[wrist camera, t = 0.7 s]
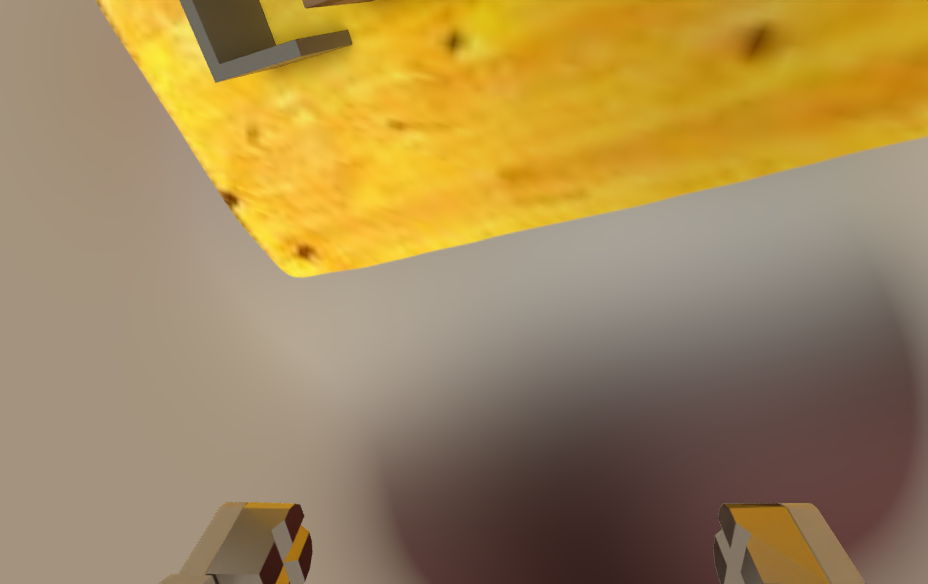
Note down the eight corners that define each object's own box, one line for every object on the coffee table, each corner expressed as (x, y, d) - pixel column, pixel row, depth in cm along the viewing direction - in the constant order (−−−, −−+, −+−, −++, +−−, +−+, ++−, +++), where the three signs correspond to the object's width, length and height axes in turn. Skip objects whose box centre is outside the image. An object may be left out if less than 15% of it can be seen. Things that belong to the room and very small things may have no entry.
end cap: (230, -43, 47) (160, -45, 41) (313, -79, 43) (249, -87, 37) (273, 68, 51) (215, 82, 45) (352, 44, 47) (301, 56, 41)
